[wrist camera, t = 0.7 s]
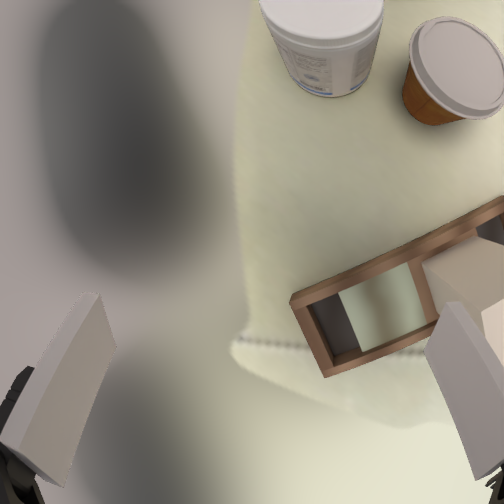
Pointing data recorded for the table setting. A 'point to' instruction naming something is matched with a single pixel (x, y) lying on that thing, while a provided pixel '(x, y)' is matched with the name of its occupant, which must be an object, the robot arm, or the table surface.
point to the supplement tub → (325, 41)
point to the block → (472, 285)
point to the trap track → (384, 297)
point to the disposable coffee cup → (453, 73)
